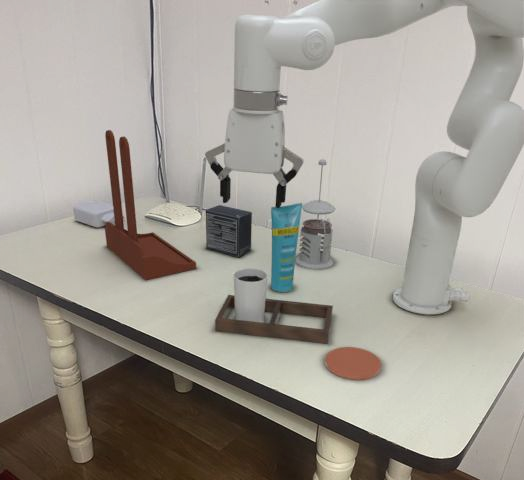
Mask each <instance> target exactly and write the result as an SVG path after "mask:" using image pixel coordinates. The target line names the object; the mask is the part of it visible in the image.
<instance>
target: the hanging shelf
mask: <svg viewBox="0 0 524 480" xmlns="http://www.w3.org/2000/svg"><path fill="white" fill-rule="evenodd" d="M104 135H105V136H104V137H105V145H106V156H107V164H108V175H109V179H110V180H109V184H110V191H111V200H112V205H113V210H114V219H115V225H113V224H112V223H111V222H106V226H104V233H105V235H104V236H105V241H106V248H107V249H108V250H110V251H111V252H112V253H113V254H115V256H117V258H119V259H120V260H121V261H122V262H124V263H125V264H126V265H127V266H128V267H130V269H131V270H133V271H134V272H136V273H137V274H138V275H139V276H140V277H141V278H142V279H143V280H145V281H149V280H153V279H157V278H161V277H166V276H170V275H175V274H179V273H184V272H188V271H193V270H197V262H196V261H195V260H193V259H192V258H191V257H189V256H187V255H186V254H185V253H184V252H182V251H181V250H179V249H177V247H175V246H173V244H171V243H169V242H168V241H166V240H165V239H163V238H162V237H161V236H159V235H157V233H155V232H153V231H152V232H147V233H138V227H137V215H136V206H135V194H134V193H135V192H134V182H133V173H132V160H131V151H130V150H131V149H130V143H129V141H128V138H127V137H126V136H119V140H118V148H119V156H120V157H119V159H120V166H121V167H120V169H121V177H122V189H123V196H124V197H123V198H124V206H125V208H124V209H125V217H126V218H125V219H126V227H127V229H126V228H125V224H124V221H123V216H124V215H123V205H122V204H123V203H122V196H121V186H120V184H121V183H120V177H119V176H120V175H119V166H118V155H117V147H116V139H115V135H114V131H112V130H111V129H107V130H105V134H104Z"/></svg>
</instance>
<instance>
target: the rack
mask: <svg viewBox="0 0 524 480" xmlns="http://www.w3.org/2000/svg"><path fill="white" fill-rule="evenodd" d="M225 298H226V299H225V300H224V302H223V304H222V306H221V308H220V310H219V312H218V314H217V315H216V318H215V319H214V331H215V332H222V333H230V334H240V335H248V336H256V337H265V338H274V339H283V340H290V341H291V340H292V341H301V342H308V343H319V344H328V343H329V338H330V330H331V325H332V317H333V308H334V305H332V304H331V305H329V304H320V303H311V302H301V301H293V300H282V299H273V298H266V301H265V312H269V313H272V315H271V318H270V319H269V320H270V321H269V322H263V323H261V322H252V321H243V320H235V319H234V318H228V317H229V314H230V312H231V311H232V309H235V298H234V294H227V296H226V297H225ZM281 314H288V315H296V316H307V317H315V318H325V321H324V325H323V326H324V327H323V328H313V327H308V326H307V327H306V326H297V325H287V324H279V320H280V317H281Z"/></svg>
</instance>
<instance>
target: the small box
mask: <svg viewBox="0 0 524 480" xmlns="http://www.w3.org/2000/svg"><path fill="white" fill-rule="evenodd" d="M252 225H253V212H252V211H249V210H244V209H241V208H240V209H239V208H234V207H231V206H226V205H222V204H219V205H215V206H213V207H210V208H207V209H205V236H206V237H205V239H206V240H205V241H206V245H205V246H206V247H205V248H206V250H208V251H209V250H210V251H213V252H217V253H220V254H221V253H222V254H223V255H229V256H232V257H235V258H239V257H241V256H244V255H246V254H248V253H250V252H251V251H252Z"/></svg>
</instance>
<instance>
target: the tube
mask: <svg viewBox="0 0 524 480" xmlns="http://www.w3.org/2000/svg"><path fill="white" fill-rule="evenodd" d="M302 206H303V202H298V203H297V202H296V203H292V204H287V205H281V206H280V208H276V207H275V206H271V208H270V217H271V267H270V268H271V269H270V270H271V271H270V272H271V273H270V274H271V275H270V288H271V289H272V290H273V291H275V292H279V293H280V292H281V293H286V292H290V291H292V289H293V285H294V275H295V267H296V262H295V259H296V257H297V256H296V255H297V247H298V238H299V231H300V224H301V223H300V222H301V216H302V210H303V209H302Z"/></svg>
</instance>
